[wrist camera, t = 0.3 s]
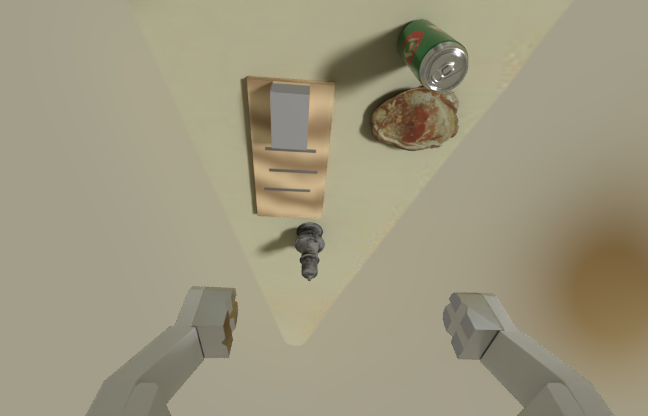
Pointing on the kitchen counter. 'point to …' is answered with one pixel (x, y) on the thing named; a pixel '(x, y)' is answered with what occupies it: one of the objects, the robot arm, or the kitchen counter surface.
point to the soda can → (433, 56)
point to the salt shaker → (309, 248)
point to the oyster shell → (416, 119)
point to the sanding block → (289, 115)
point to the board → (290, 153)
